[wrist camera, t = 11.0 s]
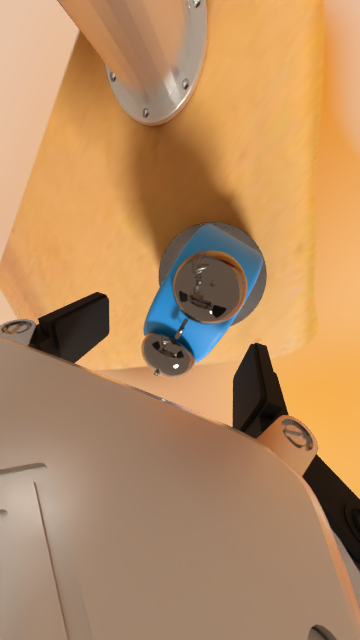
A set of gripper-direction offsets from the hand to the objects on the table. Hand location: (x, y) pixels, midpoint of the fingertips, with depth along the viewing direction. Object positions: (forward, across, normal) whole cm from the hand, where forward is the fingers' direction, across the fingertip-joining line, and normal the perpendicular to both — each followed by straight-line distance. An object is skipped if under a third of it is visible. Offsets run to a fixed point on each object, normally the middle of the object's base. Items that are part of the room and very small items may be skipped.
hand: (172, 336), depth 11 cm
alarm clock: (+16, 0, +1) cm, 16 cm away
